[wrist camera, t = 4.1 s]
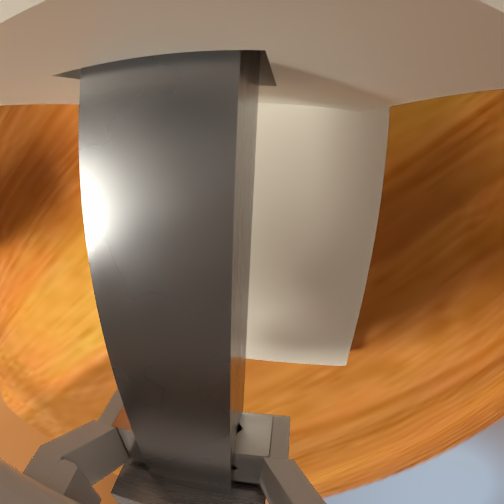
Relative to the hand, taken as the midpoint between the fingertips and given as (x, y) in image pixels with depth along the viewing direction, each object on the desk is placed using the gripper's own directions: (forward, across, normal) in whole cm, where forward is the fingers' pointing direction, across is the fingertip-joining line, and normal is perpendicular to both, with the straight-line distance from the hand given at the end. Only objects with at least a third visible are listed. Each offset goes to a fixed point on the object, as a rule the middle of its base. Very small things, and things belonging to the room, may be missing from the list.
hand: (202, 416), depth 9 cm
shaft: (+1, 0, -10) cm, 10 cm away
